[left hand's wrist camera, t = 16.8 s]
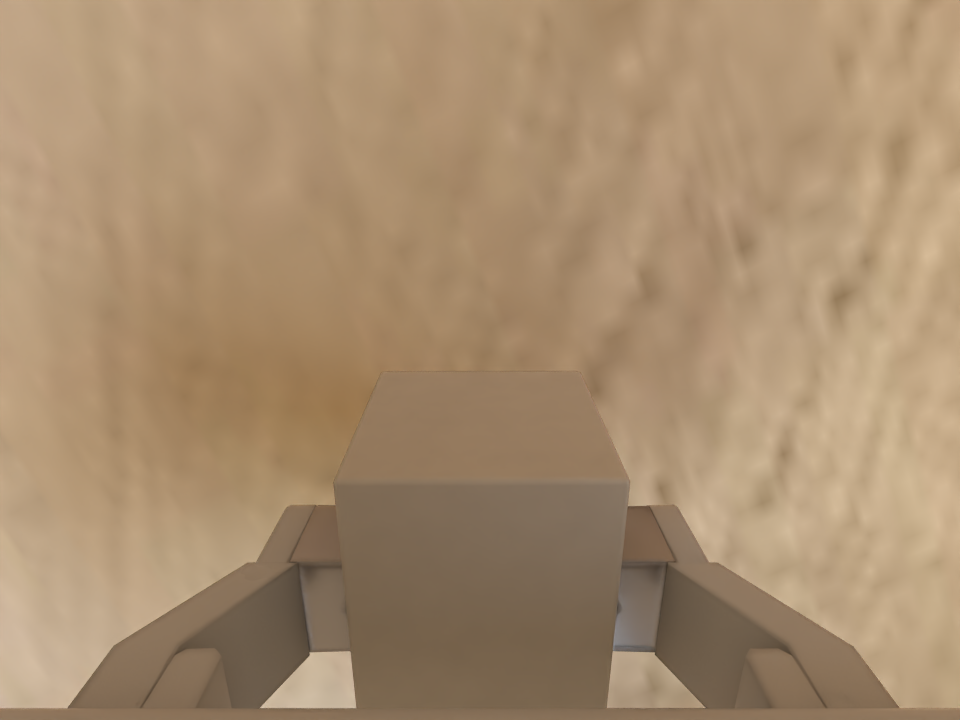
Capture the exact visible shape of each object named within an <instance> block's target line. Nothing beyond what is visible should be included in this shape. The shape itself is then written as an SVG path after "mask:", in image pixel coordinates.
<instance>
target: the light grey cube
mask: <svg viewBox="0 0 960 720" xmlns="http://www.w3.org/2000/svg"><path fill="white" fill-rule="evenodd" d="M333 484H334V494H335V504H336V513H337V523H338V533H339V542H340V552H341V562H342V572H343V581H344V591H345V601H346V611H347V620H348V630H349V640H350V649H351V659H352V669H353V679H354V688H355V698H356V708H607V699H608V690H609V680H610V671H611V661H612V651H613V642H614V632H615V623H616V613H617V603H618V594H619V584H620V575H621V565H622V555H623V546H624V536H625V527H626V517H627V508H628V498H629V488H630V480H629V477H628V475H627V473H626V471H625V469H624V467H623V464H622V462H621V460H620V458H619V456H618V453H617V451H616V449H615V447H614V445H613V442H612V440H611V438H610V436H609V434H608V432H607V429H606V427H605V425H604V423H603V421H602V418H601V416H600V414H599V412H598V410H597V407H596V405H595V403H594V401H593V399H592V397H591V394H590V392H589V390H588V388H587V386H586V383H585V381H584V379H583V377H582V375H581V373H580V372H578V371H514V372H382V373H381V374H380V376H379V378H378V381H377V383H376V385H375V388H374V390H373V392H372V394H371V397H370V399H369V401H368V404H367V406H366V408H365V410H364V413H363V415H362V417H361V420H360V422H359V424H358V426H357V429H356V431H355V433H354V436H353V438H352V440H351V442H350V445H349V447H348V449H347V452H346V454H345V456H344V458H343V461H342V463H341V465H340V468H339V470H338V472H337V475H336V477H335V479H334V482H333Z"/></svg>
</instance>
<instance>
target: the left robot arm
mask: <svg viewBox="0 0 960 720" xmlns="http://www.w3.org/2000/svg"><path fill="white" fill-rule="evenodd" d="M334 651H351V649H350V640H349V630H348V620H347V611H346V601H345V591H344V581H343V572H342V562H341V552H340V542H339V533H338V523H337V513H336V505H318V506H316V505H290V506H288V507H287V508H286V509H285V510H284V512H283V514H282V516H281V518H280V520H279V521H278V523H277V525H276V527H275V529H274V530H273V532H272V534H271V536H270V538H269V540H268V541H267V543H266V545H265V547H264V549H263V551H262V552H261V554H260V556H259V558H258V560H257V561H256V563H246V564H245V565H243V566H241V567H240V568H238V569H237V570H235V571H233V572H232V573H230V574H229V575H227V576H225V577H224V578H222V579H220V580H219V581H217V582H216V583H214V584H212V585H211V586H209V587H208V588H206V589H204V590H203V591H201V592H200V593H198V594H196V595H195V596H193V597H192V598H190V599H188V600H187V601H185V602H184V603H182V604H180V605H179V606H177V607H175V608H174V609H172V610H171V611H169V612H167V613H166V614H164V615H163V616H161V617H159V618H158V619H156V620H155V621H153V622H151V623H150V624H148V625H147V626H145V627H143V628H142V629H140V630H139V631H137V632H135V633H134V634H132V635H130V636H129V637H127V638H126V639H124V640H122V641H121V642H119V643H118V644H116V645H114V646H113V648H112V649H111V650H110V652H109V653H108V654H107V656H106V657H105V658H104V660H103V661H102V662H101V664H100V665H99V666H98V668H97V669H96V670H95V672H94V673H93V674H92V676H91V677H90V679H89V680H88V681H87V683H86V684H85V685H84V687H83V688H82V689H81V691H80V692H79V693H78V695H77V696H76V697H75V699H74V700H73V701H72V703H71V704H70V705H69V707H68V708H0V720H960V708H899V707H898V705H897V704H896V703H895V701H894V700H893V699H892V697H891V696H890V695H889V693H888V692H887V691H886V689H885V688H884V687H883V685H882V684H881V683H880V681H879V680H878V679H877V677H876V676H875V675H874V673H873V672H872V671H871V669H870V668H869V667H868V665H867V664H866V663H865V661H864V660H863V659H862V657H861V656H860V655H859V653H858V652H857V651H856V649H855V648H854V647H853V646H851V645H850V644H848V643H847V642H845V641H843V640H842V639H840V638H838V637H837V636H835V635H834V634H832V633H830V632H829V631H827V630H826V629H824V628H822V627H821V626H819V625H817V624H816V623H814V622H813V621H811V620H809V619H808V618H806V617H805V616H803V615H801V614H800V613H798V612H796V611H795V610H793V609H792V608H790V607H788V606H787V605H785V604H784V603H782V602H780V601H779V600H777V599H775V598H774V597H772V596H771V595H769V594H767V593H766V592H764V591H763V590H761V589H759V588H758V587H756V586H754V585H753V584H751V583H750V582H748V581H746V580H745V579H743V578H742V577H740V576H738V575H737V574H735V573H733V572H732V571H730V570H729V569H727V568H725V567H724V566H722V565H721V564H719V563H709V561H708V560H707V558H706V556H705V554H704V553H703V551H702V549H701V547H700V545H699V544H698V542H697V540H696V538H695V537H694V535H693V533H692V531H691V530H690V528H689V526H688V524H687V523H686V521H685V519H684V517H683V516H682V514H681V512H680V510H679V508H678V507H677V506H675V505H647V506H628V508H627V517H626V527H625V536H624V546H623V555H622V565H621V575H620V584H619V594H618V603H617V613H616V623H615V632H614V642H613V651H630V652H655V655H656V656H657V657H658V658H659V659H660V660H661V661H662V662H663V664H664V665H665V666H666V667H667V668H668V669H669V670H670V671H671V672H672V673H673V674H674V675H675V676H676V677H677V678H678V679H679V680H680V681H681V682H682V683H683V684H684V685H685V686H686V687H687V689H688V690H689V691H690V692H691V693H692V694H693V695H694V696H695V697H696V698H697V699H698V700H699V701H700V702H701V703H702V704H703V705H704V706H705V707H706V708H260V707H261V706H262V705H263V704H264V703H265V701H266V700H267V699H268V698H269V697H270V696H271V695H272V694H273V693H274V692H275V691H276V690H277V689H278V688H279V687H280V686H281V685H282V684H283V683H284V682H285V680H286V679H287V678H288V677H289V676H290V675H291V674H292V673H293V672H294V671H295V670H296V669H297V668H298V667H299V666H300V665H301V664H302V663H303V662H304V661H305V660H306V658H307V657H308V656H309V655H310V654H309V652H334Z"/></svg>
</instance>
